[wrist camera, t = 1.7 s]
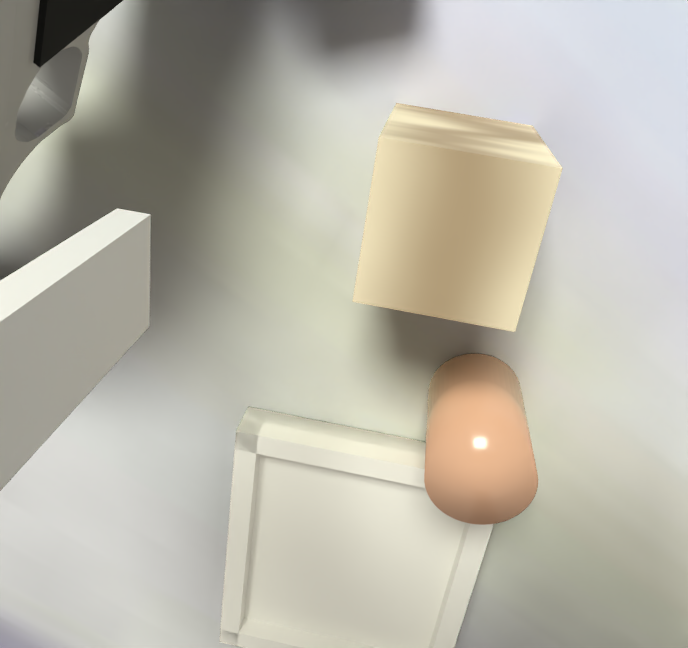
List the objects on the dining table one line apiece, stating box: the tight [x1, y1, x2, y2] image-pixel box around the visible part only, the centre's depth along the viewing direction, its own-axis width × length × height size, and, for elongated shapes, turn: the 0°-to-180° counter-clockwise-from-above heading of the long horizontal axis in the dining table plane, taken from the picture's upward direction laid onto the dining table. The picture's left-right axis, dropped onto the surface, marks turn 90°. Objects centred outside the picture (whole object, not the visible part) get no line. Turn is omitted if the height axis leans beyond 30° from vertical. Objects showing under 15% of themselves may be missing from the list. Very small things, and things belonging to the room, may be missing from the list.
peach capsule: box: [424, 354, 538, 525], centre depth 26 cm, size 4×4×6 cm
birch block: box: [353, 103, 562, 332], centre depth 22 cm, size 5×5×7 cm
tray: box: [219, 407, 494, 648], centre depth 33 cm, size 12×14×2 cm
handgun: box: [0, 0, 123, 198], centre depth 22 cm, size 4×28×15 cm, turn 141°
